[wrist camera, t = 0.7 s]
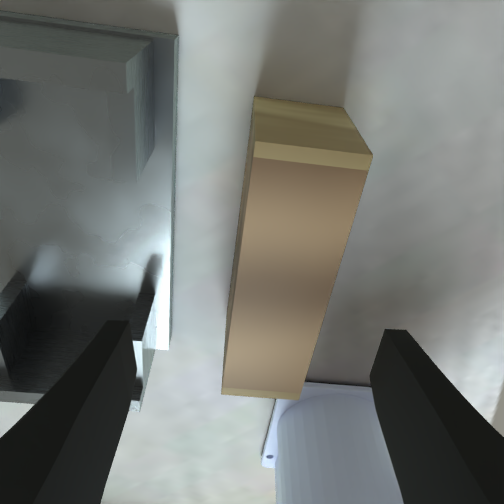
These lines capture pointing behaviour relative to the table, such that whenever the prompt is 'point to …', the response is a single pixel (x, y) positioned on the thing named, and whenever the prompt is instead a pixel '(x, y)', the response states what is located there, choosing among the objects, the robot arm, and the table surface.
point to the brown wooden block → (289, 242)
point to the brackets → (83, 194)
